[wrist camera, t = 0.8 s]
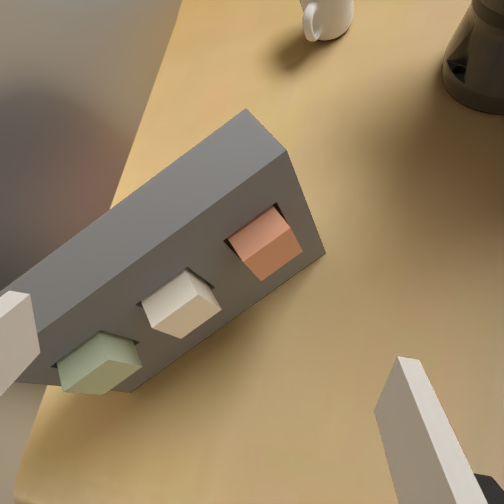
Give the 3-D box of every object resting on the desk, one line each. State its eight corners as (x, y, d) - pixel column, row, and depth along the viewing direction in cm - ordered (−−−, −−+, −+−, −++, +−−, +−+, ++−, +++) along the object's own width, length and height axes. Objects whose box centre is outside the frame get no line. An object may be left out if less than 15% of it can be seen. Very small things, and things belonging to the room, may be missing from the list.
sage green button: (124, 318, 35) (91, 305, 31) (142, 366, 32) (108, 359, 28) (88, 344, 35) (50, 335, 31) (102, 395, 32) (63, 392, 28)
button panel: (296, 218, 43) (245, 108, 27) (325, 252, 40) (286, 150, 24) (116, 348, 44) (-30, 313, 29) (130, 392, 41) (-24, 378, 25)
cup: (337, 62, 51) (329, 8, 44) (290, 59, 55) (276, 8, 48) (366, 11, 54) (363, -48, 47) (319, 11, 57) (310, -44, 51)
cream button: (197, 265, 34) (172, 246, 30) (221, 309, 31) (197, 294, 28) (160, 292, 34) (130, 276, 31) (180, 338, 32) (151, 327, 28)
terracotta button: (271, 211, 34) (256, 185, 30) (302, 251, 31) (290, 227, 27) (233, 239, 34) (213, 216, 30) (261, 281, 31) (242, 262, 27)
